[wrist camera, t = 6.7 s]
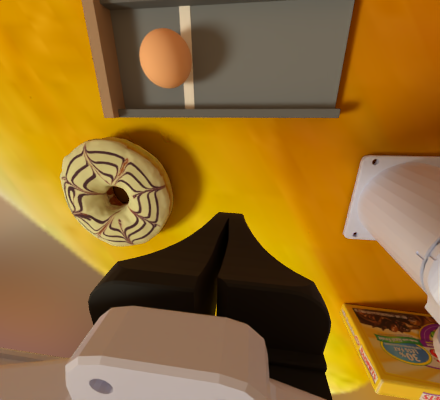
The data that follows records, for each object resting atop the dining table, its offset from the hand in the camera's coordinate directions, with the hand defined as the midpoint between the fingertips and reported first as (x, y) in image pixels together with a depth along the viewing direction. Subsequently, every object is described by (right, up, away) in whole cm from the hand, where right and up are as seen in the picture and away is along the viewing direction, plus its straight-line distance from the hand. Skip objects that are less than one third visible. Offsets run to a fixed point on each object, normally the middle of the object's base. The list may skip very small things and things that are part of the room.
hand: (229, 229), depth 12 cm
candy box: (+21, -11, +13) cm, 28 cm away
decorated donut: (-10, +3, +11) cm, 15 cm away
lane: (-1, +12, +6) cm, 14 cm away
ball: (-4, +11, +4) cm, 13 cm away
